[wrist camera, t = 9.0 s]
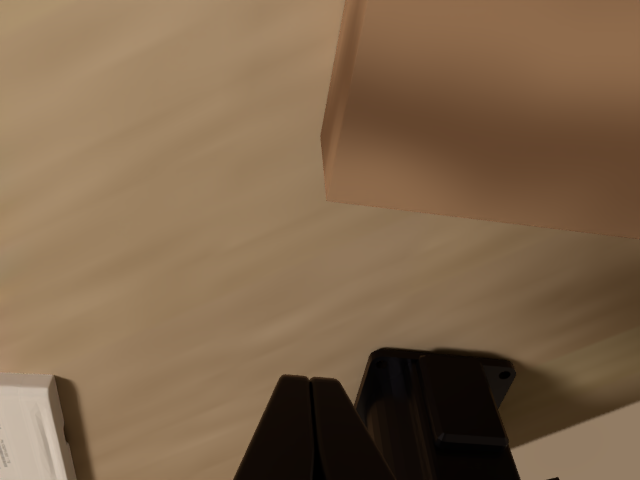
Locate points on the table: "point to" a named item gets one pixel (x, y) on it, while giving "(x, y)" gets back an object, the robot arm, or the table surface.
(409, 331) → the table surface
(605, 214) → the brown wooden block
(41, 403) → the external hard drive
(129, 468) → the table surface
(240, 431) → the table surface
